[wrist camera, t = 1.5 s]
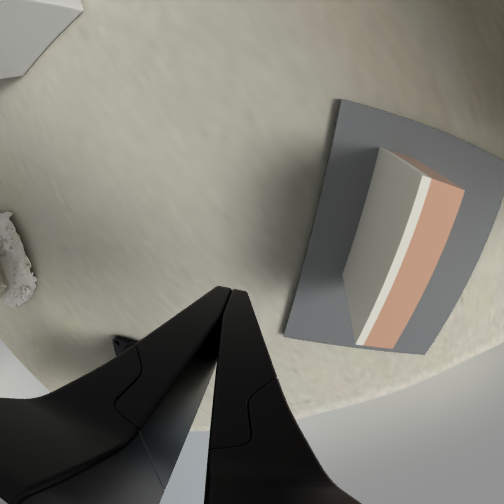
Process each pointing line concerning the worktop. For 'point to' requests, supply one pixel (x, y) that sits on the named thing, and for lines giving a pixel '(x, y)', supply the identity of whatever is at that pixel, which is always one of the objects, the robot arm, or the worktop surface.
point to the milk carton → (31, 30)
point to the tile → (397, 245)
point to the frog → (14, 266)
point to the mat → (350, 210)
